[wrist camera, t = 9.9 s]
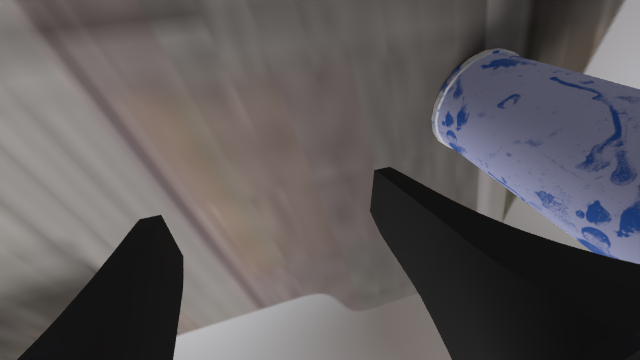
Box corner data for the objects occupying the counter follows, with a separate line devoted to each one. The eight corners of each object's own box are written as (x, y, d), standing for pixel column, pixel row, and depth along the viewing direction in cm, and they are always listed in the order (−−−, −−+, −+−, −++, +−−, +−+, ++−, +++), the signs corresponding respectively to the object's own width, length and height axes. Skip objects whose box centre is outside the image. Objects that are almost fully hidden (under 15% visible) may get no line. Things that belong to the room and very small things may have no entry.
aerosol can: (523, 111, 24) (1083, 365, 8) (442, 162, 25) (820, 479, 9) (520, 23, 19) (1887, 249, 3) (420, 91, 20) (1157, 519, 4)
